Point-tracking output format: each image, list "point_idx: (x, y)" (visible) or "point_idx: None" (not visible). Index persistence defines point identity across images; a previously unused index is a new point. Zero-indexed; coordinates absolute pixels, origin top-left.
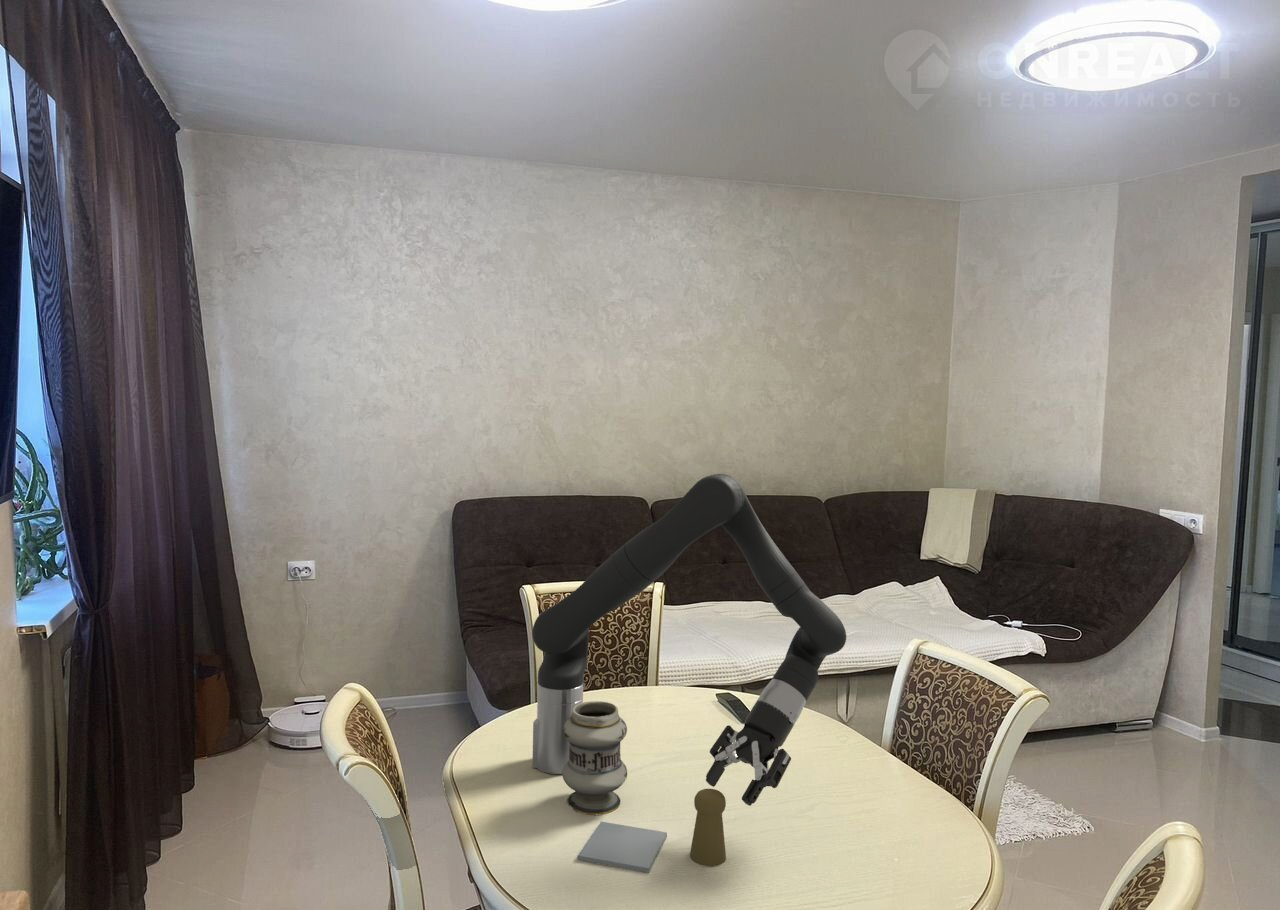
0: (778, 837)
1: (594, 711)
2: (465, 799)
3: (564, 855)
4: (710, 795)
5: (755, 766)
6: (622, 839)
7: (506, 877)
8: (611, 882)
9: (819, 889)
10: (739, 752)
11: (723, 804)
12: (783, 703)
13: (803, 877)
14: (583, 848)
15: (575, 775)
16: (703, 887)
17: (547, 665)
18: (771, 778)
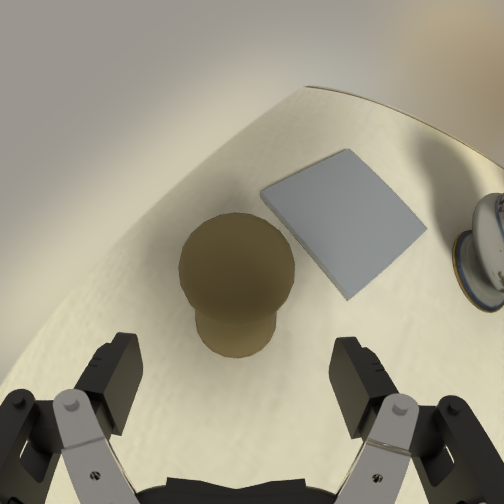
0: None
1: None
2: (495, 165)
3: (365, 151)
4: (218, 236)
5: (93, 440)
6: (365, 216)
7: (345, 99)
8: (273, 150)
9: (32, 383)
10: (298, 501)
11: (180, 278)
12: None
13: None
14: (363, 163)
15: (498, 193)
16: (165, 236)
17: None
18: (6, 400)
